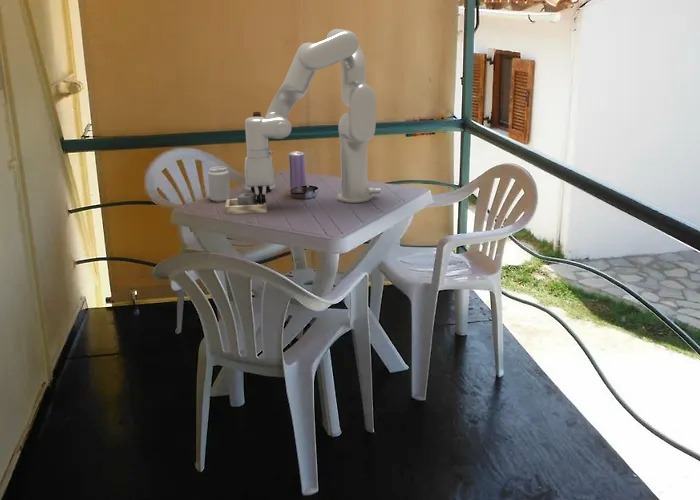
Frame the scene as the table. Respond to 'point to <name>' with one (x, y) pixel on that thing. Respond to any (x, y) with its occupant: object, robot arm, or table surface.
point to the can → (219, 184)
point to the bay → (244, 207)
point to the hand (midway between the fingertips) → (261, 204)
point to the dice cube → (247, 199)
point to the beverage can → (297, 169)
